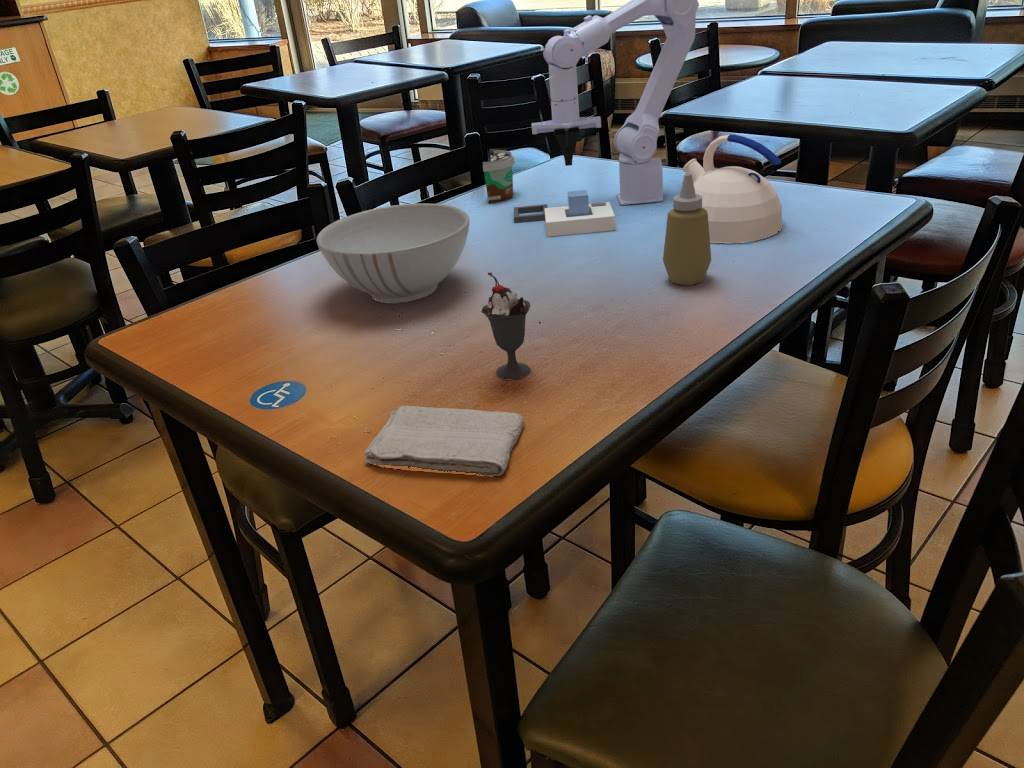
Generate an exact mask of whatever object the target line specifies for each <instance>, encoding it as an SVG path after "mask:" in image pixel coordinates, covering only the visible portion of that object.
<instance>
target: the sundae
mask: <svg viewBox="0 0 1024 768" xmlns="http://www.w3.org/2000/svg"><path fill="white" fill-rule="evenodd" d="M487 275H488V276H490V277H491V278H492V279H493V280H494V281H495V286H493V287H492V288H491V292H492V294H491V295H490V296H489V297H488V300H487V304H486V305H484V306H483V307H482V308H481V313H482V314H483V315H484V316H485V317H487V319H488V321H489V323H490V327H491V331H492V335H493V339H494V341H495V343H496V345H497V347H499V348H500V349H501V350H502V351H505V352H506V353H507V354H506V355H507V363H505V364H502V365H501V366H499V367H498V368H497V370H496V371H495V374H497V375H496V376H497V377H498V378H499V377H500V378H499V379H501V378H503V379H502V380H505V379H517V380H520V379H519V378H521V377H523V378H525V377H527V376H529V374H530V373H531V372H532V371H531V367H530V366H529V365H528V364H526V363H524V362H518V361H517V357H516V351H517V350H518V349H520V347H522V345H523V344H524V342H525V336H526V318H527V314H528V312H529V311H530V308H531V303H530V301H528V300H524V297H523V296H521V297H518V294H517V293H516V292H515V291H514V290H513V289H511V288H509V287H504V285H501V284H499V281H498V279H497V277H496V276H495V275H493V272H487ZM526 375H527V376H526ZM524 376H525V377H524ZM521 379H522V378H521Z"/></svg>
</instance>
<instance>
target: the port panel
mask: <svg viewBox="0 0 1024 768" xmlns="http://www.w3.org/2000/svg"><path fill="white" fill-rule="evenodd" d="M544 210H545V220H544V221H545V230H546V237H559V236H569V235H579V234H590V233H602V232H612V231H613V230H614V231H616V215H615V212H614V210H613V208H612V205H611V202H610V201H606V202H595V203H589V215H585V216H575V217H569V210H568V205H565V206H554V207H548V208H544Z"/></svg>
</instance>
